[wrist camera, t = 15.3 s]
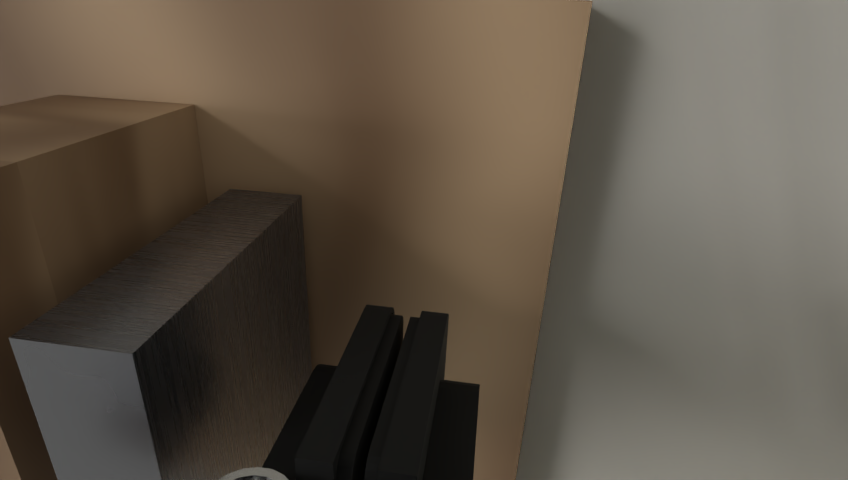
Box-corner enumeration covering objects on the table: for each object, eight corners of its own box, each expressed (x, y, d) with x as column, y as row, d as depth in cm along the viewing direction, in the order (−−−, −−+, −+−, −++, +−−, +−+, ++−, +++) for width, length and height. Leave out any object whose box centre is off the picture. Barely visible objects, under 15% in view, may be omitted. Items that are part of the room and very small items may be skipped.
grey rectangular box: (-48, 362, 15) (-333, 547, 10) (-133, 155, 12) (-575, 260, 7) (314, 412, 14) (201, 652, 9) (301, 194, 11) (132, 353, 6)
